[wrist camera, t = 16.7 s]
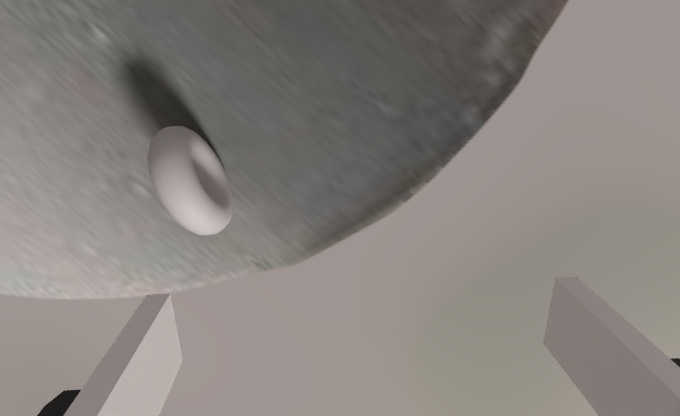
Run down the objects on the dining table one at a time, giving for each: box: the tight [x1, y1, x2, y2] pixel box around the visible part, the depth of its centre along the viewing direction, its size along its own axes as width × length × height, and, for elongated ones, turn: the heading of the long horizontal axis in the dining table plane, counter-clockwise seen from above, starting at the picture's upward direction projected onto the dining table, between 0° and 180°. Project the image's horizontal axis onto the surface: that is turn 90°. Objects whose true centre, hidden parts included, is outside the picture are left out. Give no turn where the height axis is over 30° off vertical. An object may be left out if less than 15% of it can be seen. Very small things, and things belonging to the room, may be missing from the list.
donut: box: [147, 126, 233, 235], centre depth 37 cm, size 10×4×10 cm, turn 23°
